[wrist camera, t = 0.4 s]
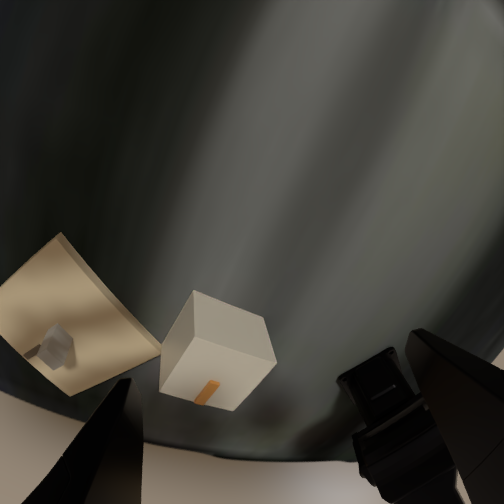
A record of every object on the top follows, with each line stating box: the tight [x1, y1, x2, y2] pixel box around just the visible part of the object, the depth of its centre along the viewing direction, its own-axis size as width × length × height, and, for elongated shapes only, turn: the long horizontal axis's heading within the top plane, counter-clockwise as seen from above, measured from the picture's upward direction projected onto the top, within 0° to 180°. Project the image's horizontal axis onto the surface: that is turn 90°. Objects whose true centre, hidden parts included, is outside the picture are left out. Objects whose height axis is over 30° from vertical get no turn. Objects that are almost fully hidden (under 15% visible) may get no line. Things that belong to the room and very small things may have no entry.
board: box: [0, 232, 162, 396], centre depth 21 cm, size 12×12×4 cm
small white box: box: [159, 290, 277, 411], centre depth 23 cm, size 6×6×5 cm
